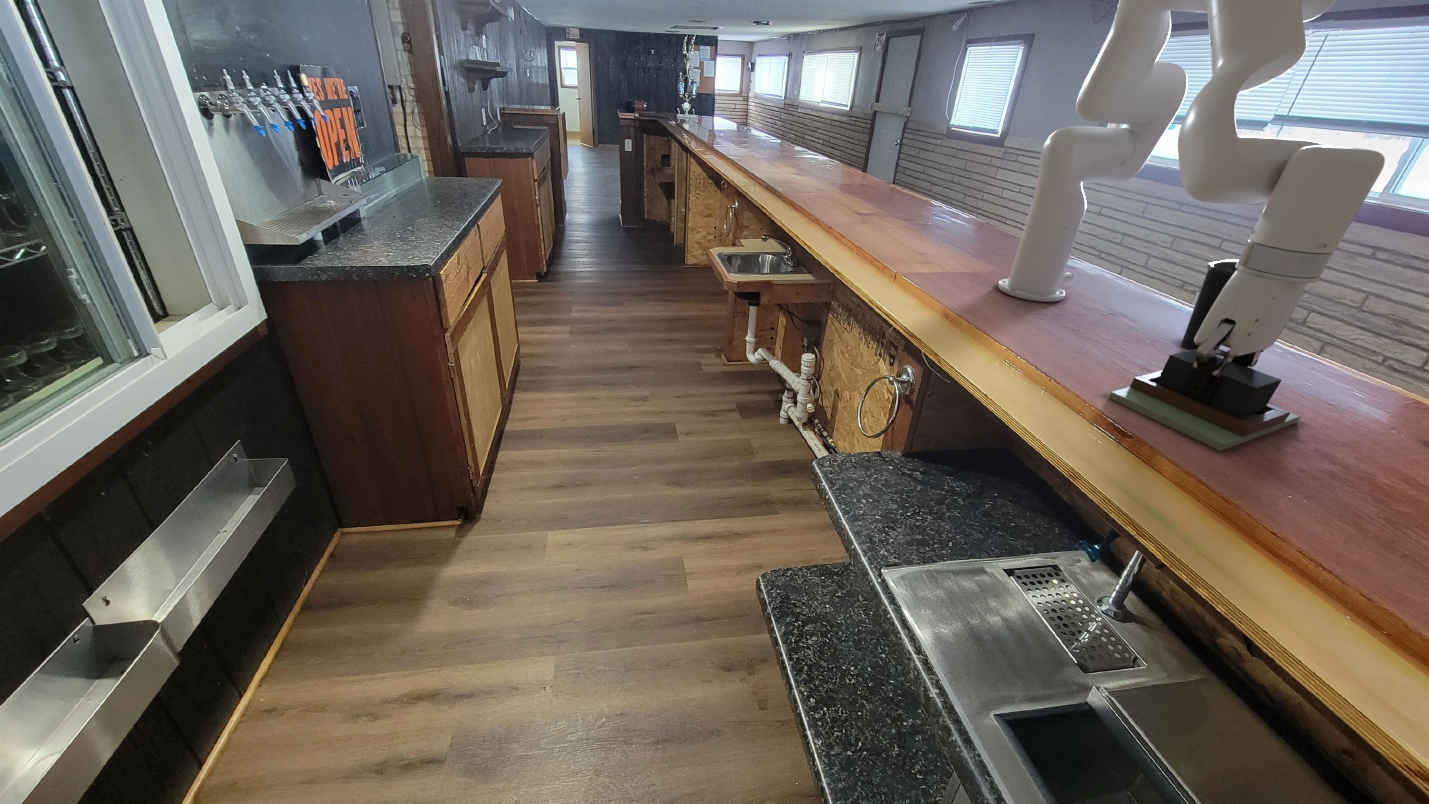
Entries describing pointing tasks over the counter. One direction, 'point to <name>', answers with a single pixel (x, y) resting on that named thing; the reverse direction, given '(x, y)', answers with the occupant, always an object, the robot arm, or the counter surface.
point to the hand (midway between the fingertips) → (1209, 393)
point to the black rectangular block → (1224, 385)
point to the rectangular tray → (1199, 414)
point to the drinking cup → (1208, 297)
